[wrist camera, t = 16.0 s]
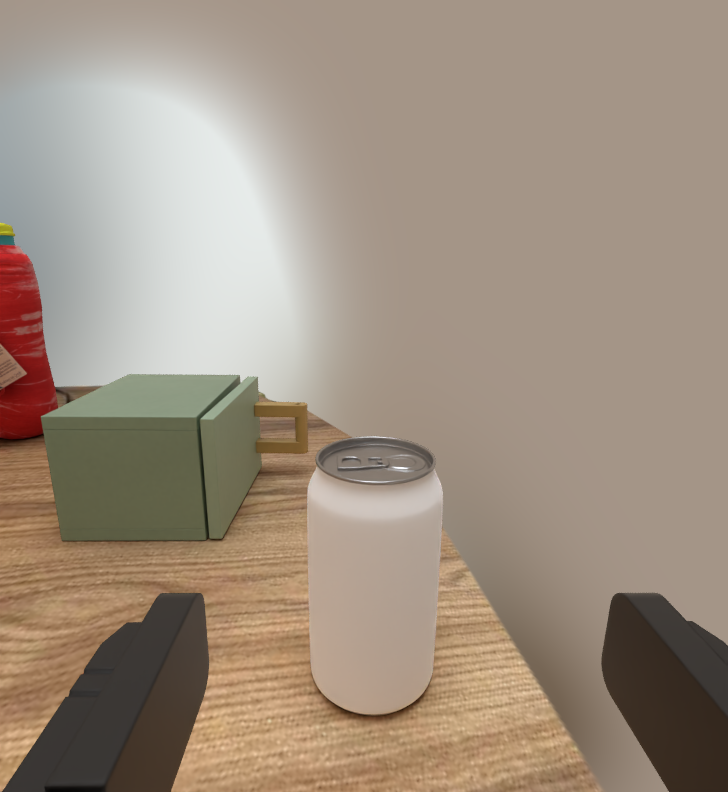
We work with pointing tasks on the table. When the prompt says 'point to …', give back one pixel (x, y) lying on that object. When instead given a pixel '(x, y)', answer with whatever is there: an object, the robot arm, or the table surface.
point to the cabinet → (133, 458)
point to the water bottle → (21, 346)
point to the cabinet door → (241, 448)
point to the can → (373, 572)
